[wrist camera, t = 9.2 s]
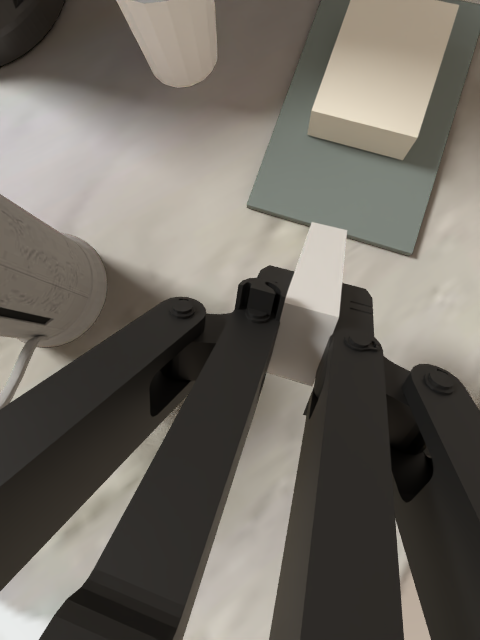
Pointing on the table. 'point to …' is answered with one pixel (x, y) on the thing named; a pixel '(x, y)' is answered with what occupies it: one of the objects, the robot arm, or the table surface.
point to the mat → (356, 164)
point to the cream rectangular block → (382, 74)
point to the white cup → (175, 37)
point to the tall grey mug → (44, 286)
